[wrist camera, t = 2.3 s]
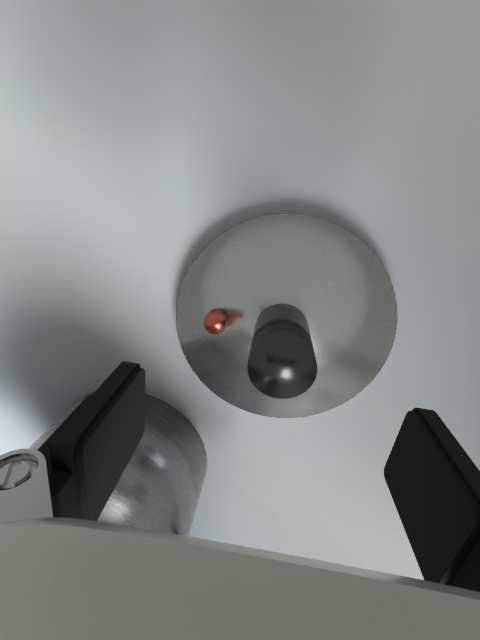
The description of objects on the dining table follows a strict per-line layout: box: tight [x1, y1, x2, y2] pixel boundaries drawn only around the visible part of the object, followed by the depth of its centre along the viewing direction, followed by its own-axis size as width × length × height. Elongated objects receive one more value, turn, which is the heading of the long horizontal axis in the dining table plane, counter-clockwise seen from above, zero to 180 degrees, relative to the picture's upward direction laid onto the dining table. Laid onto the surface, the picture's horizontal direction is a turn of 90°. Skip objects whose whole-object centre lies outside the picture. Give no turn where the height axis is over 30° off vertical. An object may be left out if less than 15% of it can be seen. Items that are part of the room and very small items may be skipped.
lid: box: [176, 213, 397, 418], centre depth 18 cm, size 14×14×6 cm
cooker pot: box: [29, 392, 207, 536], centre depth 22 cm, size 21×13×9 cm, turn 83°
